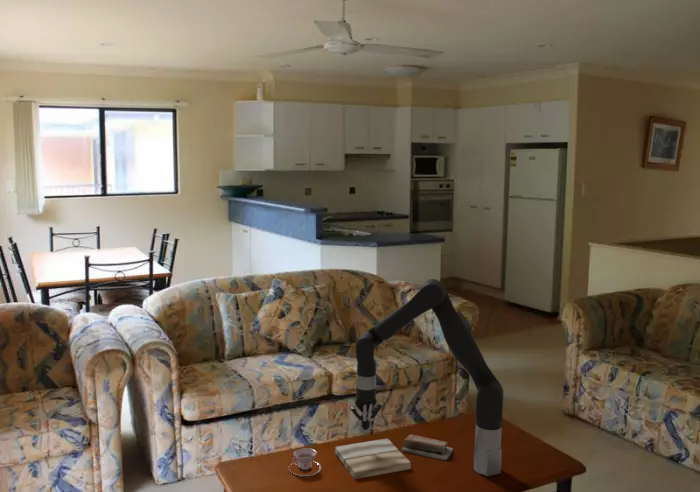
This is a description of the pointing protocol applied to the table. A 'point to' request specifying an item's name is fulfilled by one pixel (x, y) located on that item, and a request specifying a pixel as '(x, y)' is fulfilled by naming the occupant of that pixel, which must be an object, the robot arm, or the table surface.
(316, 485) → the table surface
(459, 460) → the table surface
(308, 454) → the teacup
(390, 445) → the whitewashed plank
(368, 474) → the oak plank
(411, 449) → the packaged product
